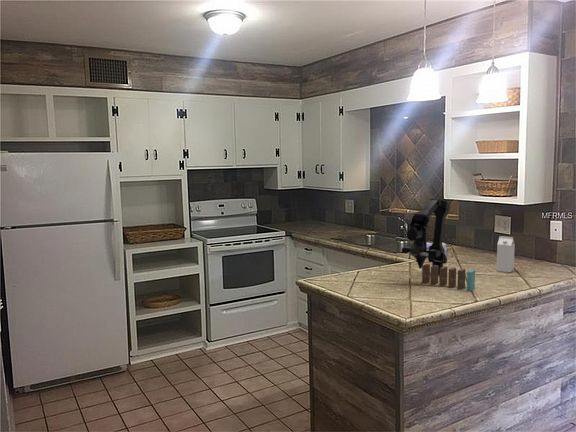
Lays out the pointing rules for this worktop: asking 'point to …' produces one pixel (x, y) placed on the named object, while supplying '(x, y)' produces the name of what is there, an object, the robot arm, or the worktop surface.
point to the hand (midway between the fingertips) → (420, 268)
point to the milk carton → (505, 254)
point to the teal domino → (471, 280)
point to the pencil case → (442, 244)
